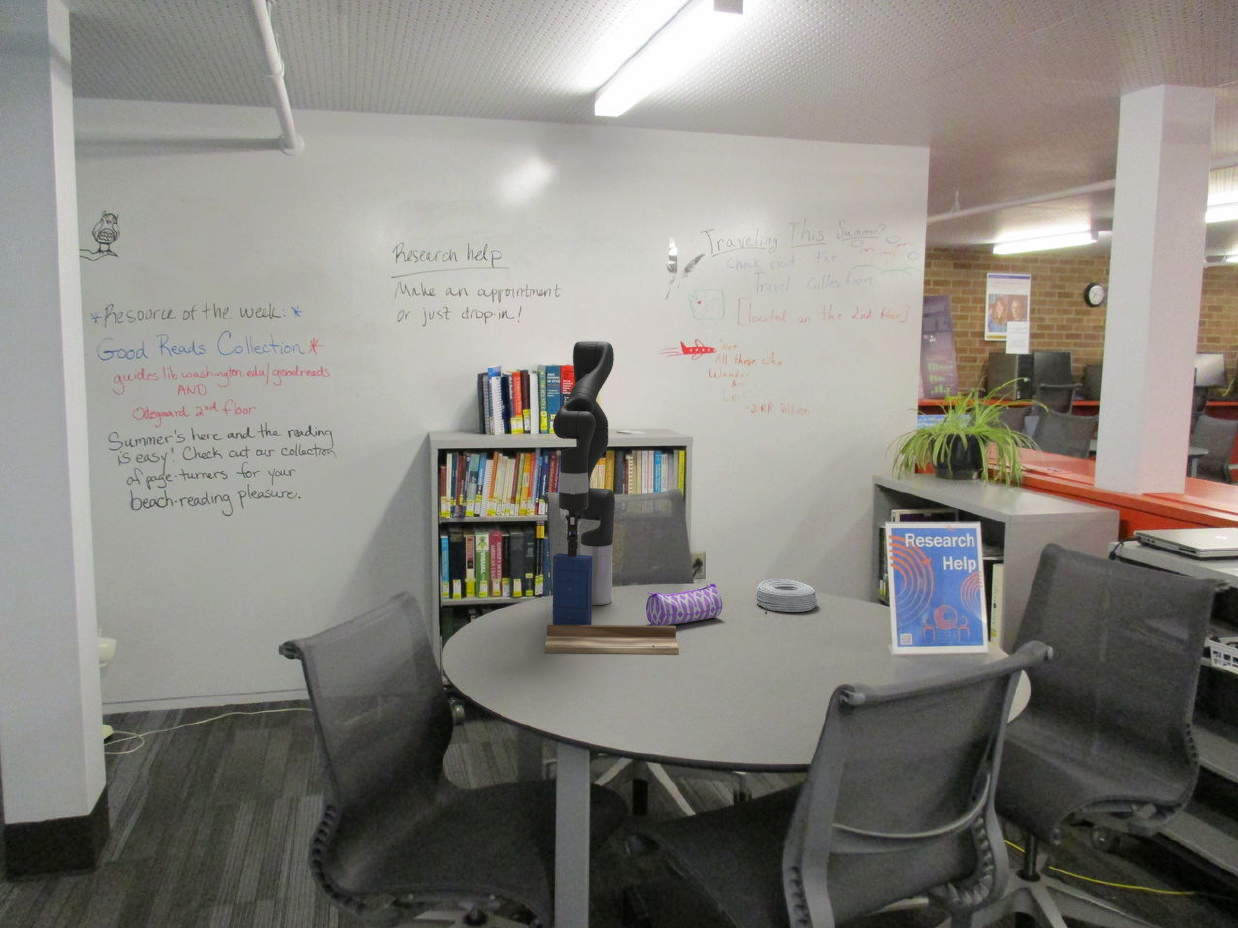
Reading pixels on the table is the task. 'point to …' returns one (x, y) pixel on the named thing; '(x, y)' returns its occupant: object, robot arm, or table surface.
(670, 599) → the pencil case
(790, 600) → the cable
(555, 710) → the table surface
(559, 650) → the guide board
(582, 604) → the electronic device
